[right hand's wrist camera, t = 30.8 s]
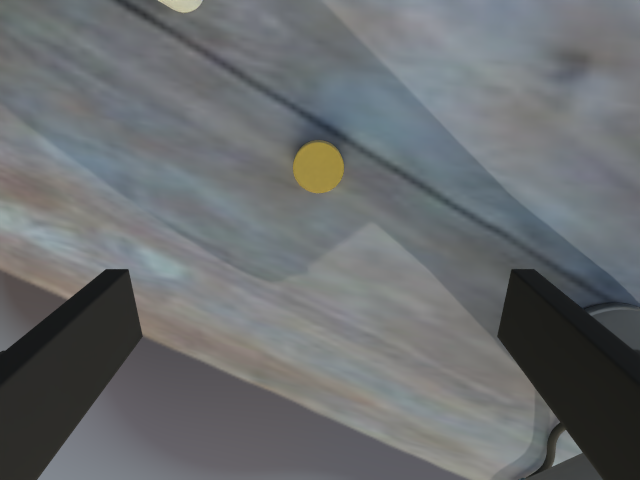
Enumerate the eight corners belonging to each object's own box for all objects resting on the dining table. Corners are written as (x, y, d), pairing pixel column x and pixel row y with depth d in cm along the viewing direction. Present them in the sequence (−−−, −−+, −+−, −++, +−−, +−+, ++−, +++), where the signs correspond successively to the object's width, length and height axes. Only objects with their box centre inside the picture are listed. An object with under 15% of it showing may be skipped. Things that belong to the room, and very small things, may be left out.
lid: (351, 153, 37) (352, 156, 35) (329, 196, 39) (330, 201, 37) (306, 131, 36) (306, 133, 34) (286, 176, 38) (284, 180, 36)
